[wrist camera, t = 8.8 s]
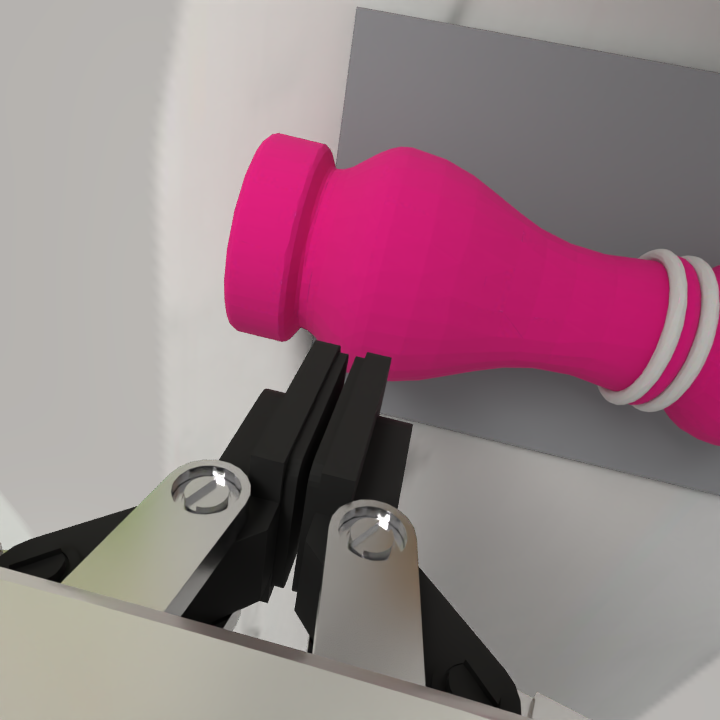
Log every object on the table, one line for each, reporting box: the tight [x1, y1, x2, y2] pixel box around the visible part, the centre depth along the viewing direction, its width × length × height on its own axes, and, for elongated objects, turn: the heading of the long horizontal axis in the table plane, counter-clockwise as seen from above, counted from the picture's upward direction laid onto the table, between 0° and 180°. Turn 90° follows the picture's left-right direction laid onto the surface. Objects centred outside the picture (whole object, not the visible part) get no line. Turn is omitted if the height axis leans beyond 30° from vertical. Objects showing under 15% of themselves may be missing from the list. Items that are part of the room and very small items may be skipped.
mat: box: [312, 7, 720, 496], centre depth 21 cm, size 15×19×1 cm
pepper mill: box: [224, 133, 720, 446], centre depth 18 cm, size 7×7×20 cm
